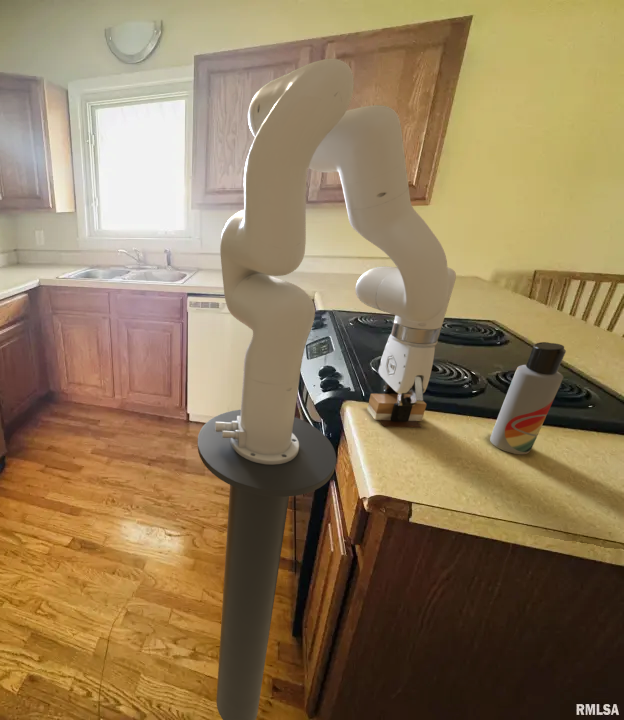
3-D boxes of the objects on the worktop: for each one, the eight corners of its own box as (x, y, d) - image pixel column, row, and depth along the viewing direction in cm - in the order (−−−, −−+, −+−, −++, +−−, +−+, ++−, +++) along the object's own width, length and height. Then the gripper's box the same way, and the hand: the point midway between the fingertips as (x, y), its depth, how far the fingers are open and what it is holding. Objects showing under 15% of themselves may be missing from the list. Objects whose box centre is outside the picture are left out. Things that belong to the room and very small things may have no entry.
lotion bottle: (533, 458, 68) (581, 353, 60) (491, 449, 71) (531, 347, 63) (526, 441, 73) (570, 341, 64) (486, 433, 76) (524, 336, 67)
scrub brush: (374, 419, 81) (378, 403, 79) (366, 409, 84) (370, 393, 83) (421, 421, 80) (426, 404, 78) (411, 410, 83) (416, 394, 82)
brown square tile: (383, 426, 79) (384, 425, 79) (371, 410, 84) (371, 409, 84) (421, 427, 78) (421, 426, 78) (406, 411, 83) (407, 410, 83)
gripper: (375, 318, 82) (359, 394, 90) (416, 349, 67) (392, 437, 75) (413, 318, 81) (393, 395, 89) (464, 349, 66) (435, 439, 74)
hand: (393, 413), depth 82 cm, fingers closed on scrub brush, 4 cm apart
